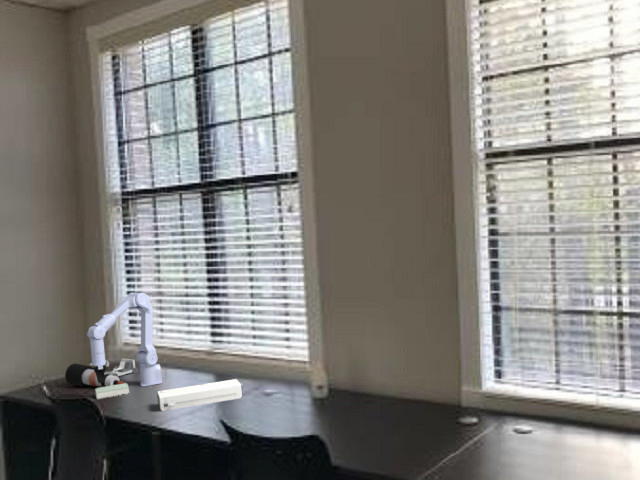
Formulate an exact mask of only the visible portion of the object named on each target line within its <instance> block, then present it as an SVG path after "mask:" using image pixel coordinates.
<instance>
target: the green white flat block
mask: <svg viewBox="0 0 640 480" xmlns="http://www.w3.org/2000/svg"><path fill="white" fill-rule="evenodd" d="M94 392H95V398H96V400H101V399H107V397H108V398H112V397H113V396H114V397H118V395H119V396H123V395H122V394H125V395H129V394H130V388H128V389H122V390H116V391H110V392H104V393H99V394H96V391H94ZM128 393H129V394H128ZM114 397H113V398H114Z"/></svg>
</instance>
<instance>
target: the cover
mask: <svg viewBox="0 0 640 480" xmlns="http://www.w3.org/2000/svg"><path fill="white" fill-rule="evenodd" d="M128 388H129V385H128V383H126V382H124V384H118V385H112V386H106V387H96V388H94V390H95V391H96V393H95V395H96V394H99V393H104V392H110V391H116V390H122V389H128ZM129 389H130V388H129ZM95 391H94V392H95Z"/></svg>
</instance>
